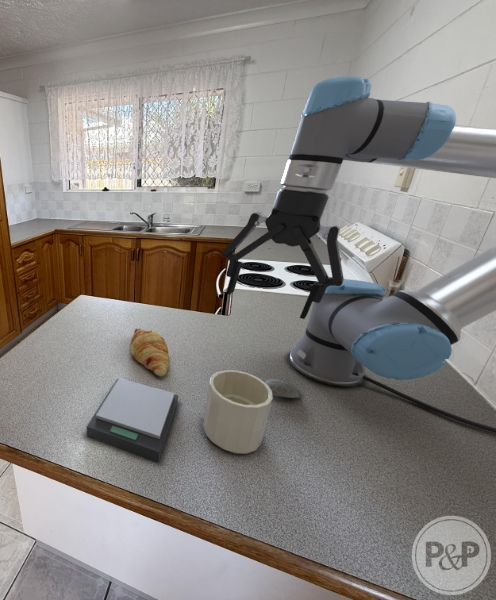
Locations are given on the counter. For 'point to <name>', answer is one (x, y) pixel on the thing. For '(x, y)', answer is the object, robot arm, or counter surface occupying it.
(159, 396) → the scale
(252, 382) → the cream cylinder cup
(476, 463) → the counter surface
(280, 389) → the soupspoon
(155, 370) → the croissant
